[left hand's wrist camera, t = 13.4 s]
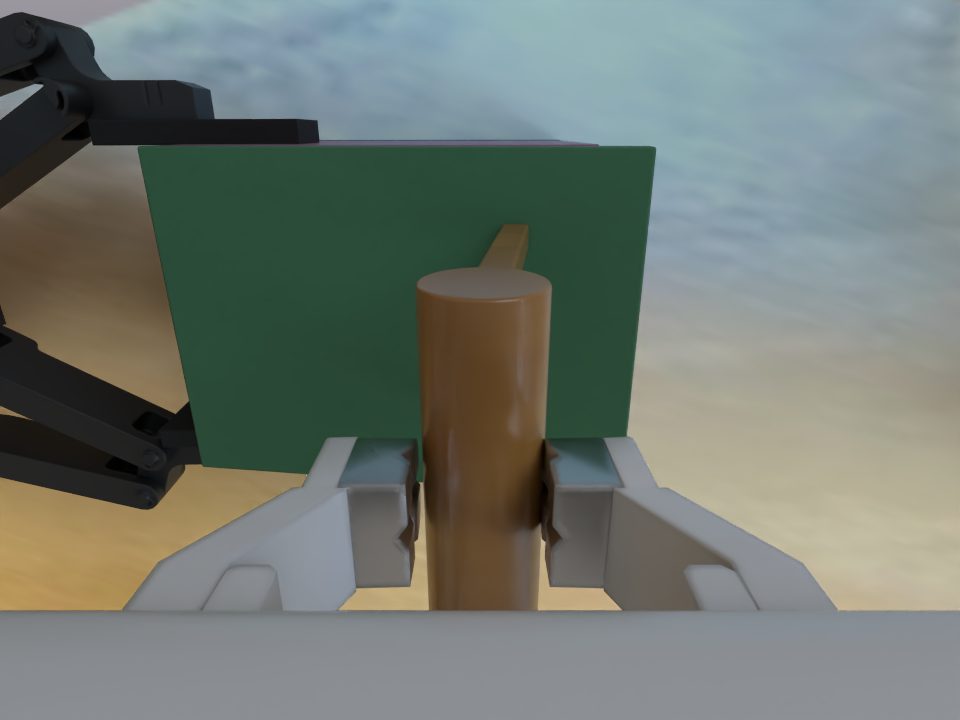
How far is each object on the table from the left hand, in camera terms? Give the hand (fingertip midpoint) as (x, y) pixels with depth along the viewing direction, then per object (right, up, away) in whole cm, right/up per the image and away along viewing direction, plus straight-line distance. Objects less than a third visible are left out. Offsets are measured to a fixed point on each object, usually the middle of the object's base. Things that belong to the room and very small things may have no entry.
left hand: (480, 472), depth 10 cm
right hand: (-6, +5, +12) cm, 14 cm away
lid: (-2, +3, +8) cm, 9 cm away
